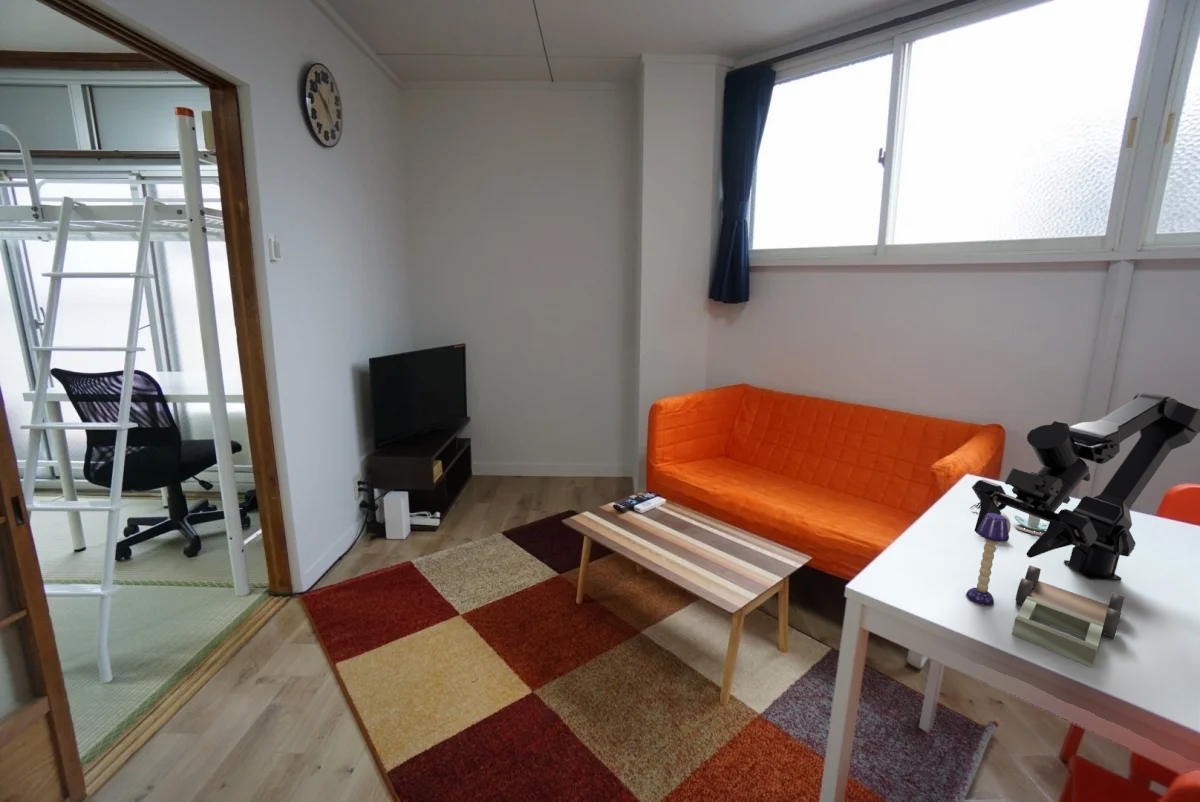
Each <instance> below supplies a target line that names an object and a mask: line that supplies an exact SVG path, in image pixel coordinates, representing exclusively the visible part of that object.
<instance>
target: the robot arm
mask: <svg viewBox="0 0 1200 802" xmlns="http://www.w3.org/2000/svg"><path fill="white" fill-rule="evenodd" d="M1138 432H1139V434H1140V437H1139V438H1138V440H1137V441H1136V443H1135V444H1134V446H1133V447H1132V448H1131V450H1130V452H1128V454H1127V455H1126V457H1125V458H1124V460H1123V461H1122V462H1121V464H1120V466H1118V468H1117V469H1116V471H1115V472H1114V473H1113V475H1112V477H1111V478H1110V479H1109V481H1108V482H1107V483H1106V485H1105V486H1104V488H1103V490H1102V491H1101V492H1100V494H1097V495H1095V496H1089V495H1085V496H1083V497H1082V498H1081V499H1080V501H1079V502H1078V505H1076V506H1075V508H1073V509H1072V510H1070V509H1067V508H1065V509H1064V508H1063V509H1061V510H1060V511H1058V513H1057V512H1056V511H1057V510H1058V509H1059V507H1060V506H1061V505H1062V504H1067V505H1068V504H1069V502H1071V498H1070V495H1071V494H1072V493H1073V491H1074V490H1075V489H1076V487H1077V486H1078V485H1079V484H1080V483H1081V482H1082V480H1083V481H1085V482H1090V481H1091V474H1090V466H1089V465H1087V463H1086V462H1085V461H1088V462H1092V463H1096V464H1100V465H1104V464H1106V463H1107V462H1109V461H1110V460H1112V459H1114V458H1115V456H1117V454H1119V453H1120V449H1121V448H1120V447H1121V443H1122V442H1123V441H1125V440H1127V438H1130V437H1131V436H1133V435H1134V434H1136V433H1138ZM1199 433H1200V408H1198V407H1197V408H1196V407H1192V406H1190V405H1188V404H1185V403H1183V402H1179V401H1178V400H1177V399H1175V398H1172V397H1171V396H1167V395H1163V394H1156V393H1148V392H1138V393H1137V394H1136V395H1135V396H1134V397H1133V399H1131V401H1129V402H1127V403H1126V404H1124V405H1122V406H1120V407H1119V408H1117V409H1115V410H1114V411H1112V412H1110V413H1108V414H1107V415H1105V416H1104V417H1102V418H1099V419H1098V420H1095V421H1084V422H1083V421H1082V422H1079V423H1076V424H1073V425H1071V426H1069V425H1068V423H1067V422H1063V421H1059V420H1054V421H1053V422H1052V423H1051V424H1044V425H1040V426H1038V427H1035V428H1034V429H1031V430H1029V432H1028V433H1027V436H1026V440H1027V443H1028V445H1029V446H1030V448H1031V450H1032V452H1033V454H1034V456H1035V458H1036V459H1037V461H1038V462H1039V464H1041V465H1042V467H1041V468H1040V469H1039V470H1038V472H1037V473H1036V472H1033V471H1031V472H1027V471H1024V470H1021V469H1019V468H1015V467H1013V468H1011V470H1010V472H1009V473H1008V475H1007V477H1006V479H1005V480H1004V484H1005V485H1007V486H1008V485H1009V486H1011V487H1013V488H1011V492H1012V493H1013V494H1014V495H1016V497H1015V496H1012V495H1009V494H1006V492H1005V490H1004V488H1003V486H1002V485H1000V484H998V483H995V482H992V481H990V480H986V479H979V480H977V481H976V482H975V483H974V484H973V485H972V487H971V488H972V490H973V492H974V494H975V495H976V497H977V498H978V500H979V501H980V502H981V506H980V508H979V514H978V517H977V520H976V524H975V526H974V527H975V528H974V532H975V534H977V535H979V534H978V533H977V530H978V528H979V526H980V524H981V522H982V521H983V519H984V517H985V516H986V514H988V513H995V514H999V515H1001V514H1002V513H1001V512H1002V511H1001V510H1000V509H1002V510H1005V508H1006V507H1009V508H1013V509H1015V510H1017V511H1020V512H1022V513H1025V514H1027V515H1029V514H1030V515H1032V516H1035V517H1038V518H1040V520H1044V521H1046V522H1048V524H1049V526H1048V528H1047V530H1045V532H1044V533H1043V535H1042V536H1040V537H1038V539H1037V540H1035V542H1034V543H1033V544H1032V545H1031V546H1030V547H1029V549H1028V550H1027V552H1026V556H1027V558H1029V559H1031V558H1034V557H1037V556H1040V555H1043V554H1045V553H1047V552H1048V553H1049V552H1050V551H1053V550H1057V549H1060V548H1065V547H1070V546H1074V547H1072V549H1071V553H1070V559H1069V560H1068V559H1067V560H1065V559H1064V560H1063V564H1064V565H1066V566H1068V567H1070V568H1071V569H1073V570H1075V571H1076V572H1077V573H1079V574H1080V575H1082V576H1083V577H1085V578H1087V579H1089V580H1102V581H1103V580H1105V581H1119V582H1121V581H1122V577H1121V576H1119V575H1117V574H1116V570H1117V567H1118V563H1119V559H1120V556H1122V557H1130V556H1131V553H1132V552H1133V550H1134V548H1135V547H1136V541H1135V539H1134V537H1133V535H1132V533H1131V531H1130V530H1131V528H1132V526H1133V523H1132V516H1131V512H1130V511H1131V510H1130V509H1131V508H1132V506H1133V505H1134V503H1135V502H1136V501H1137V499H1138V498H1139V496H1141V494H1142V492H1143V491H1144V489H1145V488H1146V487H1147V485H1148V483H1149V482H1150V480H1152V478H1153V477H1154V475H1155V473H1157V471H1158V469H1159V468H1160V467H1161V466H1162V464H1163V462H1164V460H1165V459H1166V458H1167V456H1168V455H1169V454H1170V453H1171V451H1172V450H1175V449H1177V448H1181V447H1183V446H1186V445H1187V444H1189V443H1191V442H1192V441H1193V440H1194V439H1195V437H1197V436H1198V434H1199ZM1084 460H1085V461H1084Z"/></svg>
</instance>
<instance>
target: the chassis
mask: <svg viewBox="0 0 1200 802" xmlns="http://www.w3.org/2000/svg"><path fill="white" fill-rule="evenodd" d="M1040 575H1041V568H1039V567H1037V566H1033V565H1028V568H1027V570H1026V573H1025V577H1023V578H1021V579H1020V582H1019V584H1018V587H1017V591H1016V595H1015V602H1017V603H1020V604H1021V605H1022V606H1021V607H1020V609H1019V611H1018V613H1017V614H1016V616H1015V619H1014V622H1013V627H1012V630H1011V635H1013V636H1016V637H1018V638H1020V639H1023V640H1024V641H1027V642H1030V643H1032V644H1034V645H1037V646H1038V647H1039V646H1040V647H1042V648H1045V649H1047V650H1049V651H1052V652H1054V653H1056V654H1059V655H1061V656H1063V657H1067V658H1068V659H1071V660H1073V661H1076V662H1079V663H1081V664H1083V665H1086V666H1088V667H1089V668H1090V667H1091V668H1093V666H1094V662H1095V658H1096V655H1097V652H1098V647H1099V643H1100V640H1101V637H1102V634H1103V635H1106V636H1108V637H1112V638H1113V639H1114V638H1115V637H1116V634H1117V630H1118V627H1119V623H1120V620H1121V616H1122V609H1123V606H1124V601H1125V595H1121V594H1118V593H1115V592H1113V591H1112V592H1111V595H1110V600H1109V604H1108V603H1105V602H1102V601H1099V600H1095V599H1093V598H1090V597H1087V596H1085V595H1081V594H1078V593H1075V592H1072V591H1069V590H1067V589H1063V588H1060V587H1058V586H1054V585H1052V584H1050V583H1046V582H1043V581H1040V580H1039V579H1040ZM1034 620H1037V621H1039V622H1042V623H1044V624H1048V625H1050V626H1052V627H1056V628H1058V629H1060V631H1059V630H1057V629H1055V628H1052V627H1049V626H1047V625H1044V624H1042V623H1039V622H1036V621H1034ZM1061 630H1063V631H1066V632H1068V633H1071V634H1073V635H1077V636H1078V637H1079V636H1080V637H1081V638H1084V639H1085V640H1083V639H1080V638H1078V637H1075V636H1073V635H1070V634H1067V633H1064V632H1061Z"/></svg>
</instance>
